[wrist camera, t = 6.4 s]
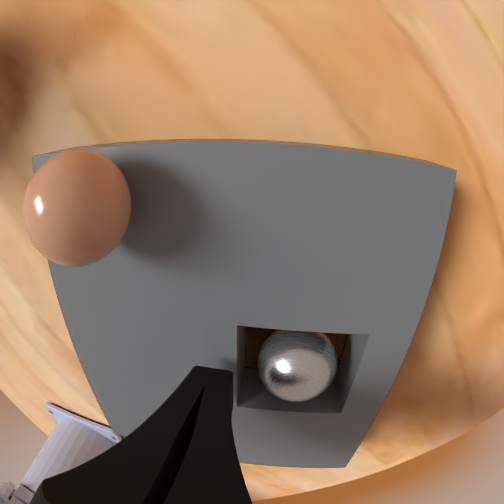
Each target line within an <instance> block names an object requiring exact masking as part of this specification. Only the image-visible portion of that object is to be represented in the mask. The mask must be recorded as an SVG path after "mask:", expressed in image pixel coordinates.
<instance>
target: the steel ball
mask: <svg viewBox="0 0 504 504" xmlns="http://www.w3.org/2000/svg"><path fill="white" fill-rule="evenodd" d="M337 362H338V361H337V353H336V350H335V347H334V345H333V343H332V341H331V340H330V339H329V338H328V336H327V335H326V334H325V333H323V332H307V331H293V330H280V329H278V330H276V331H275V332H273V333H272V334H271V335H270V336H269V337H268V338H267V339H266V340H265V342H264V343H263V345H262V347H261V349H260V352H259V355H258V360H257V368H258V373H259V376H260V379H261V381H262V383H263V385H264V386H265V387H266V389H267V390H268V391H269V392H270V393H272V394H273V395H275V396H276V397H278V398H280V399H282V400H286V401H290V402H302V401H307V400H310V399H313V398H315V397H317V396H318V395H320V394H321V393H323V392H324V391H325V390H326V389H327V388H328V387H329V385H330V384H331V383H332V381H333V379H334V377H335V374H336V370H337Z"/></svg>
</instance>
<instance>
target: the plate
mask: <svg viewBox="0 0 504 504" xmlns="http://www.w3.org/2000/svg"><path fill="white" fill-rule="evenodd" d="M74 149H85V150H91V151H95V152H97V153H100V154H102V155H104V156H106V157H107V158H108V159H110V160H111V161H112V162H113V163H114V164H115V165H116V166H117V167H118V168H119V169H120V170H121V172H122V173H123V175H124V177H125V179H126V181H127V184H128V186H129V190H130V194H131V216H130V221H129V225H128V228H127V230H126V233H125V235H124V237H123V238H122V240H121V241H120V243H119V244H118V246H117V247H116V248H115V249H114V250H113V251H112V252H111V253H110V254H109V255H107V256H106V257H105V258H103V259H102V260H100V261H98V262H96V263H93V264H90V265H87V266H82V267H67V266H63V265H59V264H57V263H54V262H52V261H50V260H49V259H48V264H49V268H50V272H51V276H52V280H53V284H54V287H55V291H56V294H57V298H58V301H59V304H60V308H61V311H62V314H63V317H64V320H65V323H66V326H67V329H68V332H69V335H70V338H71V340H72V343H73V346H74V348H75V351H76V353H77V356H78V358H79V361H80V363H81V366H82V368H83V371H84V373H85V375H86V378H87V380H88V382H89V384H90V387H91V389H92V391H93V393H94V395H95V397H96V399H97V401H98V403H99V405H100V407H101V409H102V411H103V413H104V415H105V417H106V419H107V421H108V423H109V425H110V427H111V428H112V430H113V432H114V433H115V434H118V435H121V436H124V437H126V436H128V435H129V434H130V433H131V432H133V431H134V430H135V429H136V428H137V427H139V426H140V425H141V424H142V423H143V422H144V421H145V420H146V419H147V418H148V417H150V416H151V415H152V414H153V413H154V412H155V411H156V410H157V409H158V408H159V407H160V406H161V405H162V404H163V403H164V402H165V400H166V399H167V398H168V397H169V396H170V395H171V394H172V393H173V392H174V391H175V389H176V388H177V387H178V386H179V385H180V383H181V382H182V381H183V380H184V379H185V377H186V376H187V375H188V373H189V372H190V371H191V369H192V368H193V367H194V366H196V365H197V366H203V367H209V368H216V369H223V370H230V371H231V372H233V411H232V420H231V421H232V429H233V435H234V441H235V446H236V451H237V456H238V460H239V463H247V464H256V465H267V466H280V467H300V468H342V467H346V466H347V464H348V462H349V461H350V459H351V458H352V456H353V455H354V453H355V452H356V450H357V448H358V447H359V445H360V443H361V442H362V440H363V438H364V437H365V435H366V433H367V432H368V430H369V428H370V426H371V425H372V423H373V421H374V419H375V417H376V416H377V414H378V412H379V410H380V408H381V406H382V404H383V402H384V400H385V399H386V397H387V395H388V393H389V391H390V388H391V386H392V384H393V382H394V380H395V378H396V376H397V374H398V372H399V369H400V367H401V365H402V363H403V360H404V358H405V356H406V353H407V351H408V349H409V346H410V344H411V341H412V339H413V336H414V334H415V331H416V328H417V326H418V323H419V320H420V318H421V315H422V312H423V309H424V306H425V303H426V300H427V297H428V294H429V291H430V288H431V285H432V282H433V278H434V275H435V271H436V268H437V264H438V261H439V257H440V253H441V249H442V245H443V241H444V237H445V233H446V228H447V224H448V219H449V214H450V209H451V204H452V198H453V192H454V186H455V179H456V172H457V170H454V169H451V168H448V167H445V166H442V165H439V164H435V163H432V162H429V161H425V160H421V159H416V158H411V157H406V156H400V155H394V154H388V153H382V152H376V151H369V150H362V149H355V148H347V147H339V146H330V145H320V144H310V143H298V142H284V141H267V140H243V139H175V140H151V141H135V142H121V143H110V144H100V145H91V146H82V147H74V148H69V149H64V150H59V151H54V152H49V153H45V154H41V155H36V156H33V170H34V174H35V172H36V171H37V170H38V169H39V167H40V166H41V165H42V164H44V163H45V162H46V161H47V160H48V159H50V158H51V157H53V156H55V155H57V154H59V153H61V152H64V151H68V150H74ZM246 326H248V327H258V328H269V329H280V330H293V331H307V332H323V333H342V334H348V336H347V340H346V343H345V347H344V350H343V354H342V357H341V361H340V364H339V368H338V371H337V374H335V377H334V379H333V381H332V383H331V384H330V385H329V387H328V388H327V389H326V390H325V391H324V392H323V393H321V394H320V395H318V396H317V397H315V398H313V399H310V400H307V401H302V402H290V401H286V400H282V399H280V398H278V397H276V396H275V395H273V394H272V393H270V392H269V391H268V390H267V389H266V387H265V386H264V385H263V383H262V381H261V379H260V376H259V373H258V369H254V368H245V341H246Z"/></svg>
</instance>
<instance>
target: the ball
mask: <svg viewBox="0 0 504 504" xmlns="http://www.w3.org/2000/svg"><path fill="white" fill-rule="evenodd" d="M130 216H131V194H130V190H129V186H128V184H127V181H126V179H125V177H124V175H123V173H122V172H121V170H120V169H119V168H118V167H117V166H116V165H115V164H114V163H113V162H112V161H111V160H110V159H108V158H107V157H106V156H104V155H102V154H100V153H97V152H95V151H91V150H85V149H74V150H68V151H64V152H61V153H59V154H57V155H55V156H53V157H51V158H50V159H48V160H47V161H46V162H45V163H44V164H42V165H41V166H40V167H39V169H38V170H37V171H36V172H35V174H34V175H33V177H32V178H31V180H30V182H29V184H28V186H27V189H26V192H25V196H24V201H23V220H24V225H25V229H26V232H27V234H28V237H29V239H30V240H31V242H32V244H33V245H34V247H35V248H36V249H37V250H38V251H39V252H40V253H41V254H42V255H43V256H44V257H46V258H47V259H49V260H50V261H52V262H54V263H57V264H59V265H63V266H67V267H82V266H87V265H90V264H93V263H96V262H98V261H100V260H102V259H103V258H105V257H106V256H107V255H109V254H110V253H111V252H112V251H113V250H114V249H115V248H116V247H117V246H118V244H119V243H120V241H121V240H122V238H123V237H124V235H125V233H126V230H127V228H128V225H129V221H130Z"/></svg>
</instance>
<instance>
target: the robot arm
mask: <svg viewBox="0 0 504 504" xmlns="http://www.w3.org/2000/svg"><path fill="white" fill-rule="evenodd" d="M45 407H46V409H47V410H48V412H49V413H50V415H51V416H52V418H53V419H54V421H55V422H56V424H57V425H56V426H55V428H54V429H53V431H52V432H51V434H50V436H49V437H48V439H47V440H46V442H45V443H44V445H43V447H42V448H41V450H40V452H39V453H38V455H37V457H36V458H35V460H34V461H33V463H32V465H31V467H30V468H29V470H28V471H27V473H26V475H25V477H24V478H23V480H22V482H21V484H19V485H18V486H17V488H16V490H15V489H14V487H15V485H14V484H13V483H11V482H9V483H6V482H5V483H4V482H3V483H2V484H1V485H0V504H252V501H251V499H250V496H249V493H248V490H247V488H246V485H245V481H244V478H243V475H242V471H241V468H240V464H239V460H238V456H237V451H236V446H235V441H234V435H233V429H232V421H231V420H232V411H233V372H231V371H230V370H223V369H216V368H209V367H203V366H197V365H196V366H194V367H193V368H192V369H191V371H190V372H189V373H188V375H187V376H186V377H185V379H184V380H183V381H182V382H181V383H180V385H179V386H178V387H177V388H176V389H175V391H174V392H173V393H172V394H171V395H170V396H169V397H168V398H167V399H166V400H165V402H164V403H163V404H162V405H161V406H160V407H159V408H158V409H157V410H156V411H155V412H154V413H153V414H152V415H151V416H150V417H148V418H147V419H146V420H145V421H144V422H143V423H142V424H141V425H140V426H139V427H137V428H136V429H135V430H134V431H133V432H131V433H130V434H129V435H128V436H126V437H125V438H124V439H122V438H121V436H120V435H118V434H115V433H114V432H113V430H112V429H111V428H108V427H106V426H103V425H100V424H97V423H95V422H92V421H90V420H87V419H85V418H82V417H80V416H77V415H75V414H72V413H70V412H68V411H66V410H63V409H61V408H59V407H57V406H55V405H52V404H50V403H48V402H47V403H46V404H45ZM22 485H23V486H22Z"/></svg>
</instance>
